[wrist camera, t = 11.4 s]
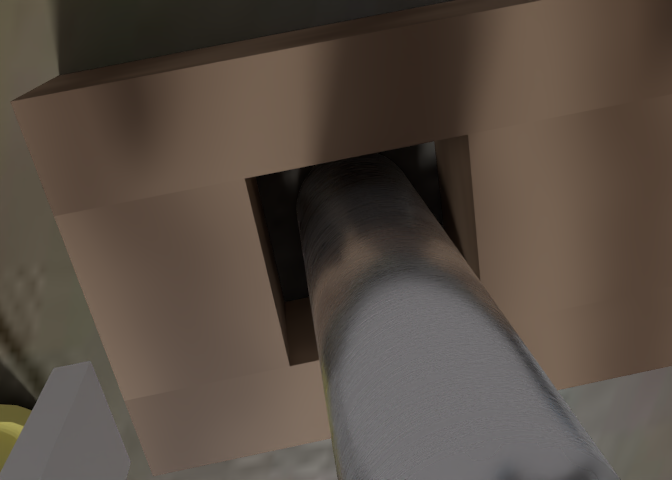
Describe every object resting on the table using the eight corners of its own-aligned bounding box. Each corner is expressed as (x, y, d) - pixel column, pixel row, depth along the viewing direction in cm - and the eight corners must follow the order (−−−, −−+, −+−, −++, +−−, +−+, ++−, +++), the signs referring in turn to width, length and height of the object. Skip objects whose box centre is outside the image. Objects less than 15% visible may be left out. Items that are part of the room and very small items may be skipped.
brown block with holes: (1071, -118, 20) (1254, -136, 16) (977, 228, 25) (1102, 273, 21) (58, 75, 19) (10, 101, 15) (169, 397, 24) (153, 476, 20)
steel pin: (405, 139, 21) (639, 413, 8) (419, 248, 22) (632, 619, 10) (285, 162, 21) (328, 480, 8) (308, 271, 22) (375, 678, 9)
